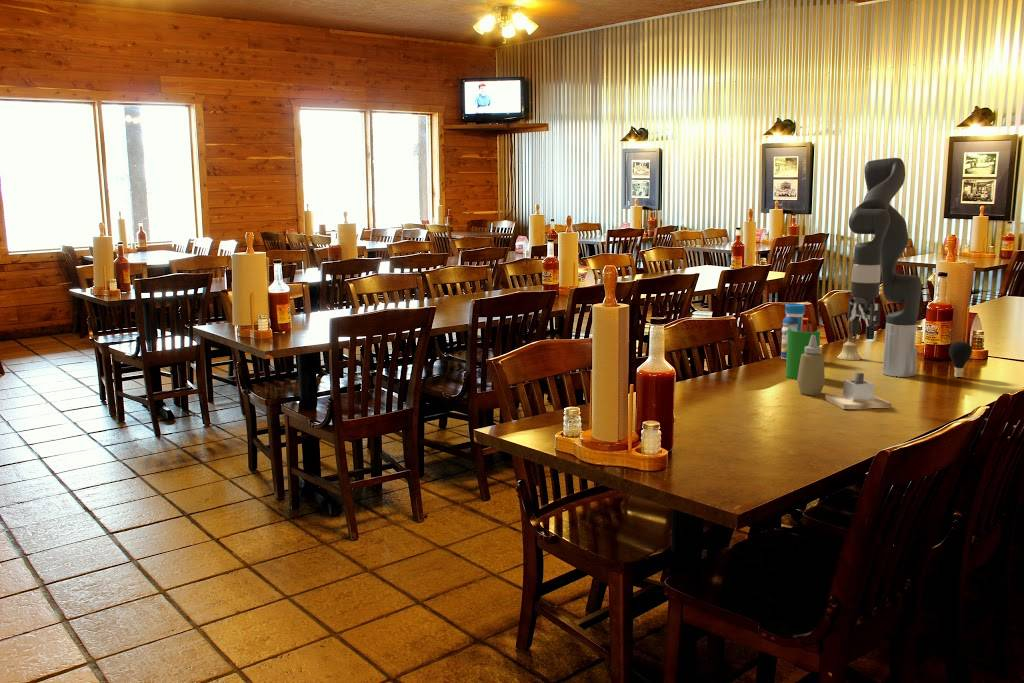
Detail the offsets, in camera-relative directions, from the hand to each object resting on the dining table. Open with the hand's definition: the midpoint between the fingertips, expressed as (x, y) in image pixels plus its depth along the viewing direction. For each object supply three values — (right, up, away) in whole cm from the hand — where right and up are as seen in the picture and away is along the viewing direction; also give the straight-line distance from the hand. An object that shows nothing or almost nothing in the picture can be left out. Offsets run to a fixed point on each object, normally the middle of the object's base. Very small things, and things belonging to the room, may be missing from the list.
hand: (862, 336), depth 253 cm
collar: (0, -18, +3) cm, 18 cm away
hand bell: (+23, -8, +69) cm, 73 cm away
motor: (-5, -13, +39) cm, 41 cm away
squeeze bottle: (-9, -17, +17) cm, 26 cm away
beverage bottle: (+2, -8, +68) cm, 69 cm away
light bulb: (+46, -13, +37) cm, 60 cm away
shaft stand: (0, -20, +4) cm, 20 cm away
